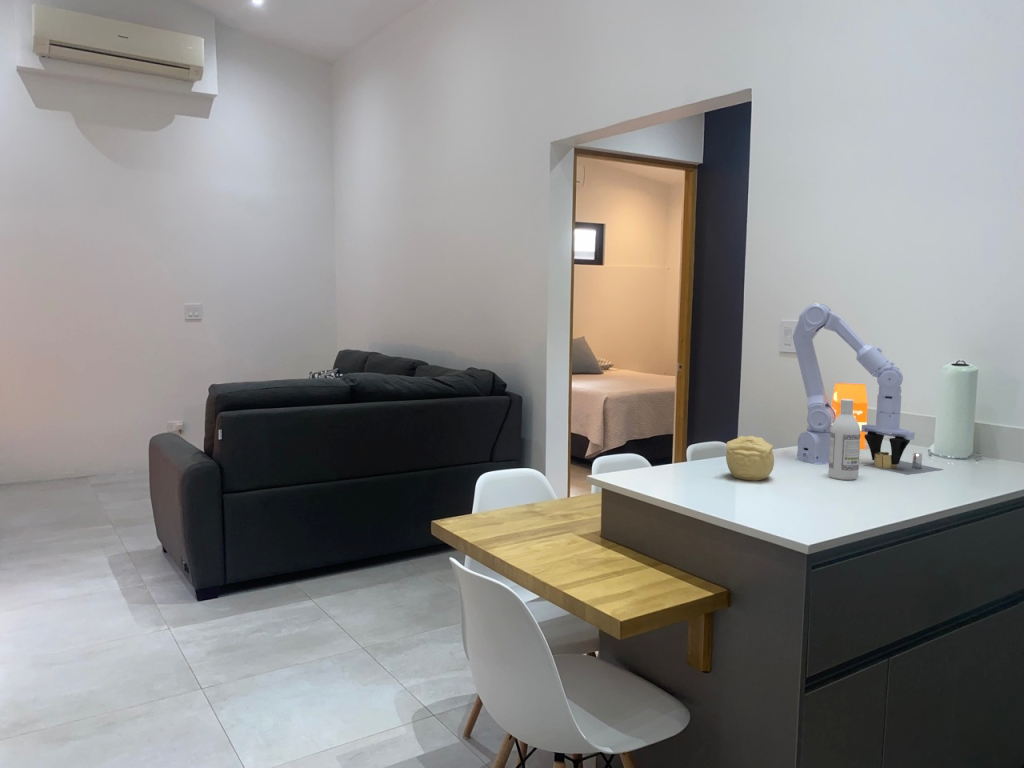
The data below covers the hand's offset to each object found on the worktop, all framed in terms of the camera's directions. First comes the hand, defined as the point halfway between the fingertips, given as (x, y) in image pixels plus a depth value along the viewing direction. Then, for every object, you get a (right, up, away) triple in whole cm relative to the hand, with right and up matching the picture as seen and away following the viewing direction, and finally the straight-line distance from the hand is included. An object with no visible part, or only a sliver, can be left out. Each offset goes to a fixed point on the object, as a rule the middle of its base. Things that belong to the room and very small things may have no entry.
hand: (885, 462), depth 202 cm
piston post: (+8, -2, -2) cm, 8 cm away
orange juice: (+3, +1, +31) cm, 31 cm away
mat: (+5, -2, 0) cm, 5 cm away
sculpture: (-41, -3, -12) cm, 43 cm away
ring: (0, -1, 0) cm, 1 cm away
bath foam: (-16, -3, -11) cm, 20 cm away
